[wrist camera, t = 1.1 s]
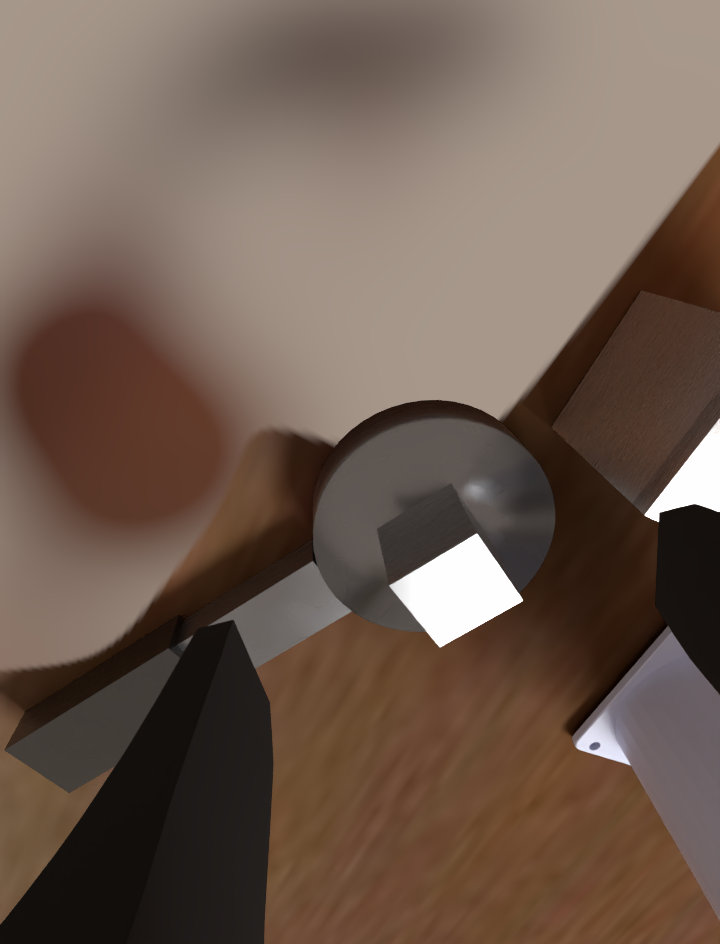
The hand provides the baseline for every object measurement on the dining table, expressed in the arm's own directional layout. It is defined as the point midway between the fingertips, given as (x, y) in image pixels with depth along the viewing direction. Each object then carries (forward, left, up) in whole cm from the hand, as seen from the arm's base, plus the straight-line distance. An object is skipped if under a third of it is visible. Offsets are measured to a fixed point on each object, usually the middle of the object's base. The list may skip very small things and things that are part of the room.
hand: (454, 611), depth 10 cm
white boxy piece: (-8, -4, -10) cm, 14 cm away
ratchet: (0, +9, -10) cm, 13 cm away
